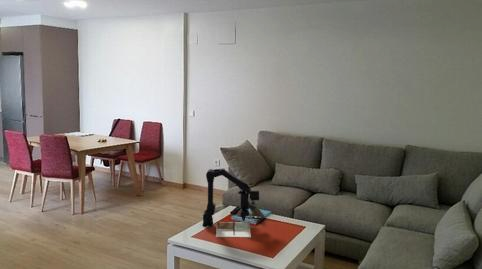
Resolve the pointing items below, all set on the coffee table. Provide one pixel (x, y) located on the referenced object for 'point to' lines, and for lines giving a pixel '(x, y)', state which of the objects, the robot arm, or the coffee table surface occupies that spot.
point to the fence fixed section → (225, 225)
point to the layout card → (233, 232)
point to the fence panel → (242, 225)
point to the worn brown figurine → (256, 211)
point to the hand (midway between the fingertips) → (243, 221)
